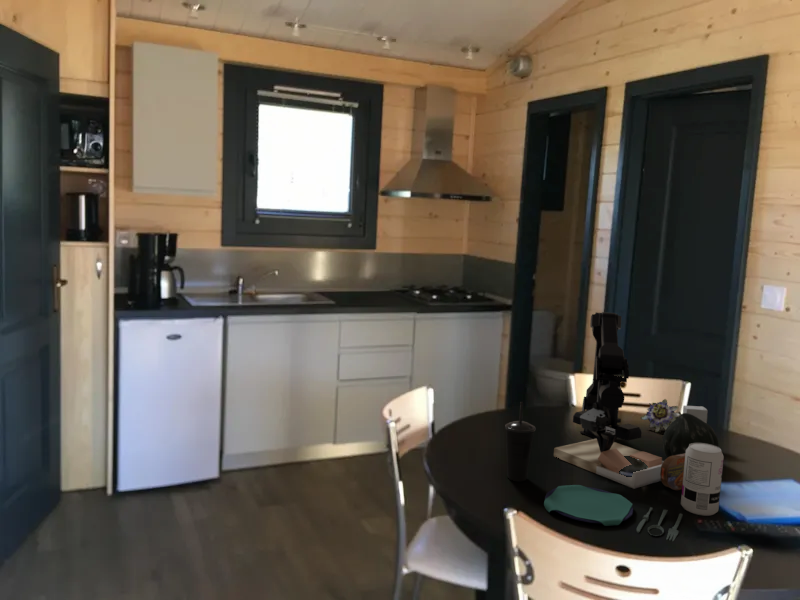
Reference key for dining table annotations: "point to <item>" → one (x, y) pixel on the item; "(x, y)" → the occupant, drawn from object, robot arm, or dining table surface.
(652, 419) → the passion flower
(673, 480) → the snack packet
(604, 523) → the cutlery set
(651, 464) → the far tile
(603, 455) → the near tile
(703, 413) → the skincare box
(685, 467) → the supplement can
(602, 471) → the tray
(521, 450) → the drinking cup
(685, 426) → the squash
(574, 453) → the board
